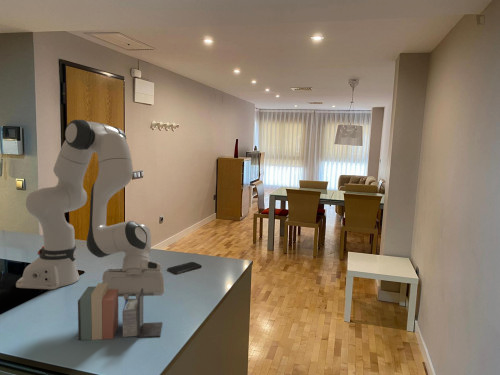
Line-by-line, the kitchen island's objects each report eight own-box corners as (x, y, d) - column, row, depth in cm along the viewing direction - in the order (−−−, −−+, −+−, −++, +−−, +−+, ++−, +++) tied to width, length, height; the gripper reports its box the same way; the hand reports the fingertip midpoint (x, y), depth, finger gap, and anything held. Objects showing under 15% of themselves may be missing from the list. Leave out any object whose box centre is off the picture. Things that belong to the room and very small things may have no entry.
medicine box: (137, 336, 107) (138, 309, 106) (122, 337, 106) (122, 310, 105) (140, 323, 115) (140, 297, 114) (125, 324, 114) (125, 298, 113)
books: (80, 340, 104) (80, 294, 102) (88, 326, 112) (88, 283, 110) (112, 338, 106) (112, 293, 104) (118, 325, 113) (118, 282, 112)
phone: (202, 265, 169) (175, 272, 158) (202, 268, 169) (175, 275, 158) (192, 261, 174) (166, 268, 164) (192, 263, 175) (166, 270, 164)
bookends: (78, 340, 104) (77, 301, 103) (86, 326, 112) (86, 289, 110) (160, 336, 108) (160, 298, 106) (162, 323, 116) (162, 287, 114)
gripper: (102, 265, 119) (94, 306, 110) (165, 264, 122) (162, 304, 114) (105, 273, 124) (98, 313, 115) (166, 272, 127) (163, 310, 118)
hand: (130, 308), depth 114 cm, fingers closed
